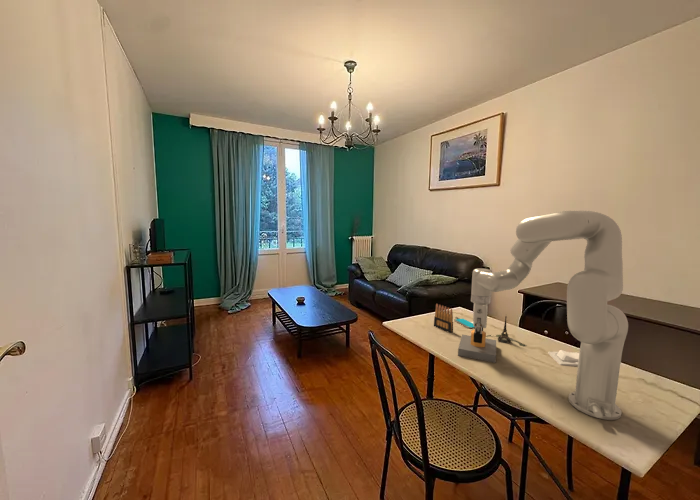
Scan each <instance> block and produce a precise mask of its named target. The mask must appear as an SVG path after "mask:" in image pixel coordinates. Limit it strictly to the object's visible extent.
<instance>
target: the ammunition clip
mask: <svg viewBox="0 0 700 500" xmlns="http://www.w3.org/2000/svg"><path fill="white" fill-rule="evenodd" d="M453 316H454V314H453V308H452V307H451V308H450V307H447V305H446V306H444V305H443V304H442V305H441V304H438V303H436V304H435V312H434V318H433V319H434V320H433V327H435V326H436V328H437V327H438V329H440V328H441V329H440V330H442V329H443V331H445V332H447V331H448V333H449V334H450V333H453V332H454V321H453V318H454V317H453Z"/></svg>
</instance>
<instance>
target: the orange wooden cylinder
mask: <svg viewBox="0 0 700 500" xmlns="http://www.w3.org/2000/svg"><path fill="white" fill-rule="evenodd" d="M474 332H475V329H472V330H471V332H470V333H471V334H470V336H471V345H473V346H475V347H485V340H486V339H487V338H486V336H487V332H486V331H484V330H483V331H482V343H476V342H473V339H474ZM480 332H481V331H480Z"/></svg>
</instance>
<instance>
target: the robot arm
mask: <svg viewBox="0 0 700 500" xmlns="http://www.w3.org/2000/svg"><path fill="white" fill-rule="evenodd" d="M515 234H516V237H517V240H516V241H515V243H513V245H512V246H511V247H510V254H511V256H512V257H513V259H514V260H513V261H512V263H511V264H510V265H509V267H508V268H506V270H501V271H500V270H499V271H493V272H492V270H491V269H489V268H483V267H482V268H478V267H477V268H474V269H473V270H472V272H471V273H472V274H471V275H472V277H471V293H470V302H471V303H473V310H472V311H473V312H472V313H473V314H472V315H473V317H472V318H473V319H472V322H473V326H474V327H475V328H474V330H475V332H474V339H473V342H476V343H482V331H484V329H487V323H488V312H489V311H488V305H490V304H491V299H492V293H498V292H503V291H508V290H513V289H515V288H517V287H518V286H519V285H520V284H521V283H523V281H525V279H526V278H527V277H528V276H529V274H530V273H531V270H532V267H533V262H535V260H536V259H537V258H538V257H539V256H540V255H541V253H543V251H544V250H545V249H547V247H548V246H550V244H551V243H552V242H558V241H560V242H561V241H572V240H581V239H582V240H585V241H586V246H585V250H584V257H583V258H584V270H581V271H579V272H577V273H574V274H573V275H572V276H571V277H570V279H569V281H568V283H567V287H566V315H567V316H566V318H567V319H566V321H567V327H568V330H569V332H570V334H571V335H572V336H573V338H575V339H576V340H577V341H579V342H580V347H579V352H580V353H579V361H578V367H577V372H576V373H577V374H576V382H575V391H572V392H570V393H569V394H568V402H569V403H570V404H571V405H572V407H574V408H575V409H577V410H578V411H580V412H582V413H584V414H586V415H587V416H590V417H593V418H597V419H600V420H601V419H602V420H606V421H607V420H608V421H616V420H618V419H621V417H622V409H621V407H620V406H618V405H617V404H616V401H617V392H618V386H619V385H618V384H619V376H620V370H621V369H620V368H621V363H622V356H623V349H624V344H625V341H626V339H627V335H628V331H629V322H628V318H627V316H626V314H625V313H624V311H622V310H621V309H620V308H618V307H617V306H614V305H611V304H608V302H610V301H612V300H616V299H617V298H619V297H620V296H621V294H622V293H623V291H624V279H623V278H624V272H623V271H624V270H623V269H624V268H623V265H624V264H623V234H622V231H621V228H620V226H619V224H618V223H617V222H616V221H615V220H614V219H613V218H611V217H610V216H608V215H606V214H603V213H601V212H598V211H592V210H563V211H558V212H557V211H556V212H553V213H551V212H550V213H547V214H542V215H536V216H535V215H534V216H529V217H526V218H523V219H522V220H521V221H520V222H519V223H518V224H517V226H516V229H515ZM480 331H481V332H480Z"/></svg>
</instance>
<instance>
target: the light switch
mask: <svg viewBox="0 0 700 500" xmlns="http://www.w3.org/2000/svg"><path fill="white" fill-rule="evenodd" d="M579 353H580V351H579V352H576V351H575V352H574V351H565V350H563V349H560V350H558V351H548V352H547V354H548V355H549V356H550V357H551V358H552V359H553V360H554V361H555V362H556V363H557V364H558V365H560V366H568V367H569V366H570V367H577V368H578V361H579Z"/></svg>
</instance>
